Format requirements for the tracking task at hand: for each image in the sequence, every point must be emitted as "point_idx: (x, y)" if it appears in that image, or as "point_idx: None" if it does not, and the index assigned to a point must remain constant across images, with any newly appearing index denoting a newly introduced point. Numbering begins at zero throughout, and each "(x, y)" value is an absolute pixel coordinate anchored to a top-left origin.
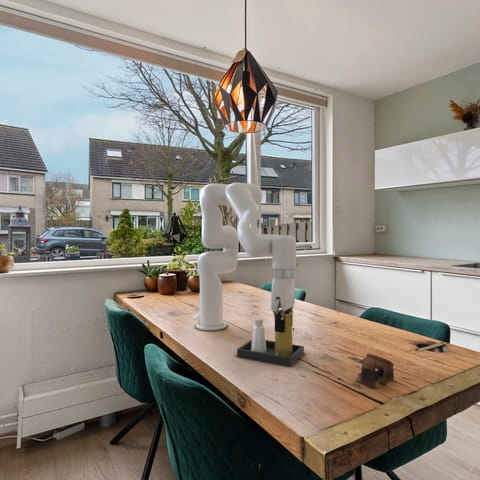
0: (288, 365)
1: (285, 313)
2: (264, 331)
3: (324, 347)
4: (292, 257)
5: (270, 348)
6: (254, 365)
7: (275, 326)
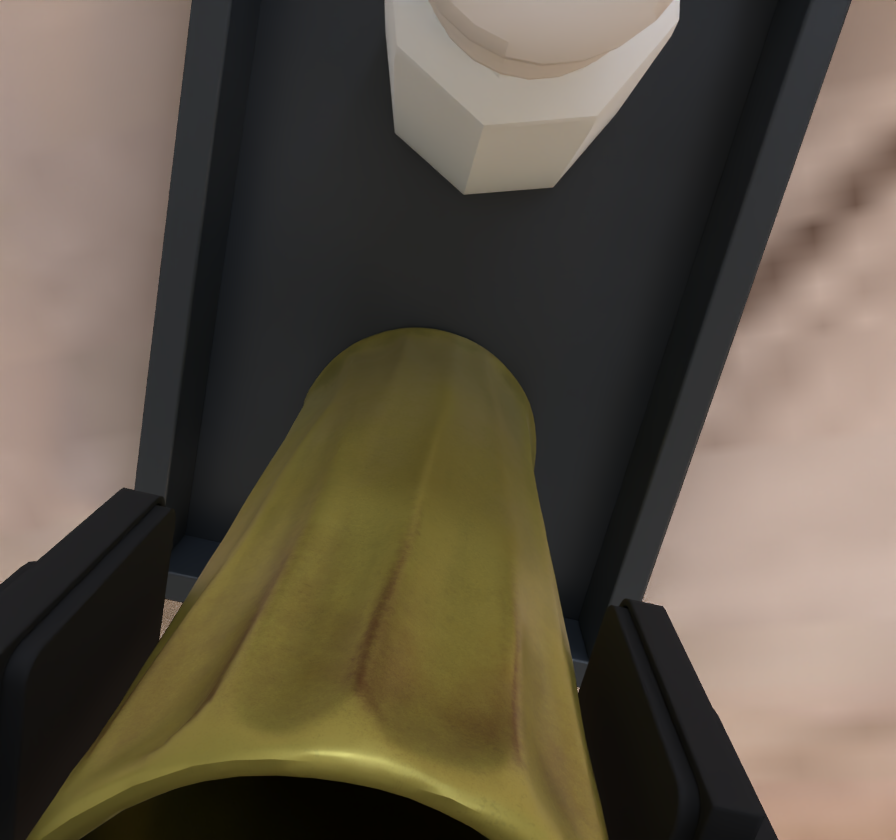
0: None
1: None
2: (570, 143)
3: (833, 821)
4: None
5: (655, 229)
6: (45, 128)
7: (74, 549)
